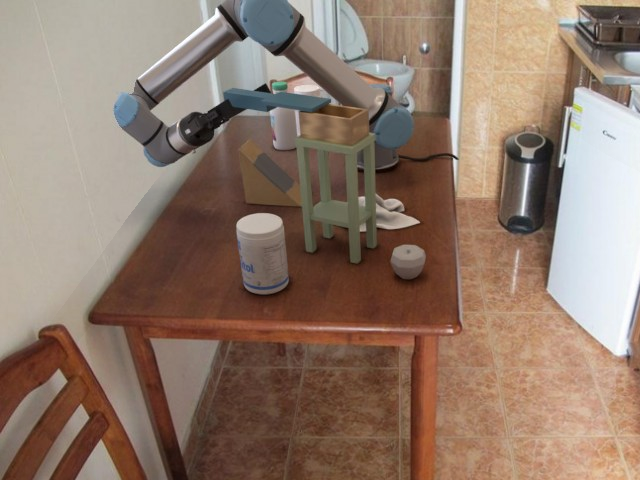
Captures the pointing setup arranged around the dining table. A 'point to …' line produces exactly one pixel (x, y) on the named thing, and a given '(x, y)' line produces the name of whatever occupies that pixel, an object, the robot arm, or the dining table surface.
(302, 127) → the tea box
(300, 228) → the dining table surface
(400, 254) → the apple
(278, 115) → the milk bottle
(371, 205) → the stand
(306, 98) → the lid
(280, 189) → the sandwich container
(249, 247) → the supplement tub
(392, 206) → the cloth
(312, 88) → the jar
